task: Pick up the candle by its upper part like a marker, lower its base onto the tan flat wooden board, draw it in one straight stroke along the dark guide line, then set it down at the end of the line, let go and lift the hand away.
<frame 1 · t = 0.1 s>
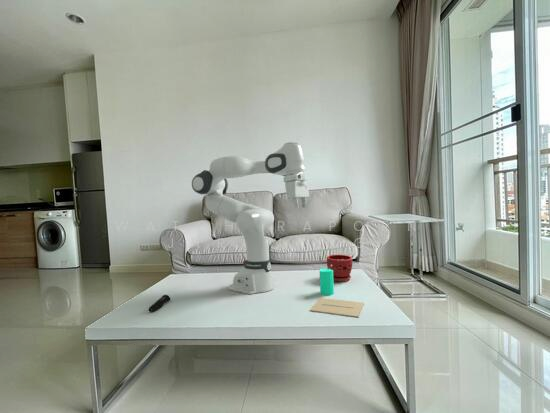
hand: (300, 208, 127), 39 cm above the table, tool pointing down, fingers open, 8 cm apart
electric trimmer: (160, 306, 120), on the table
candle: (327, 293, 127), on the table
plant pot: (340, 279, 147), on the table
tan flat wooden board: (337, 307, 110), on the table
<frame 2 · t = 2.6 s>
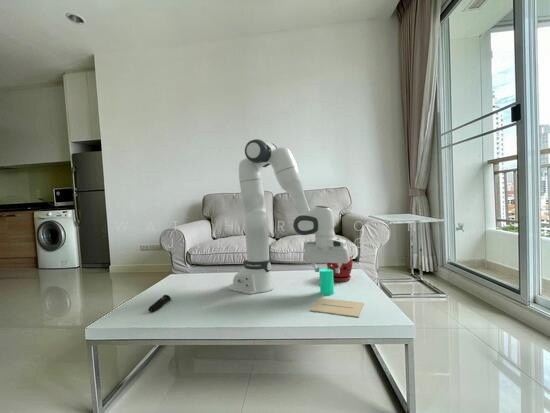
hand: (327, 272, 126), 9 cm above the table, tool pointing down, fingers open, 8 cm apart
nothing on the table moved.
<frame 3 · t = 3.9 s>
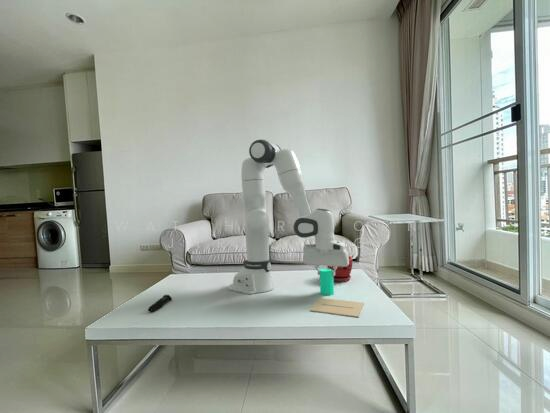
hand: (326, 275, 126), 8 cm above the table, tool pointing down, fingers closed on candle, 5 cm apart
candle: (327, 293, 127), on the table, touching gripper
everything else where it was.
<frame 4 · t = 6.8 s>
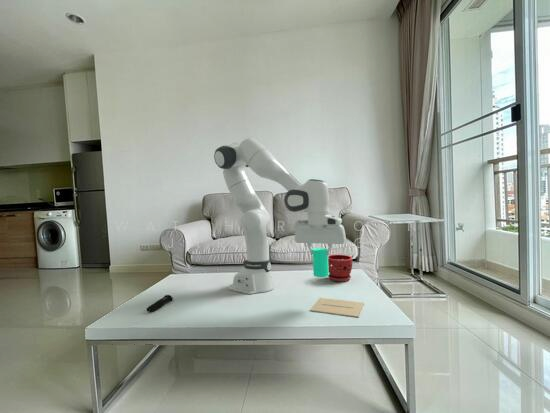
hand: (320, 254, 112), 20 cm above the table, tool pointing down, fingers closed on candle, 5 cm apart
candle: (321, 275, 112), point 12 cm above the table, touching gripper
everything else where it was.
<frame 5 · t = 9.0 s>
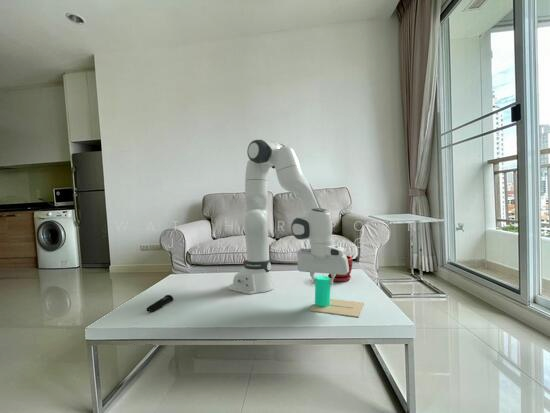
hand: (323, 283, 112), 9 cm above the table, tool pointing down, fingers closed on candle, 5 cm apart
candle: (322, 304, 112), resting on tan flat wooden board, touching gripper
everything else where it was.
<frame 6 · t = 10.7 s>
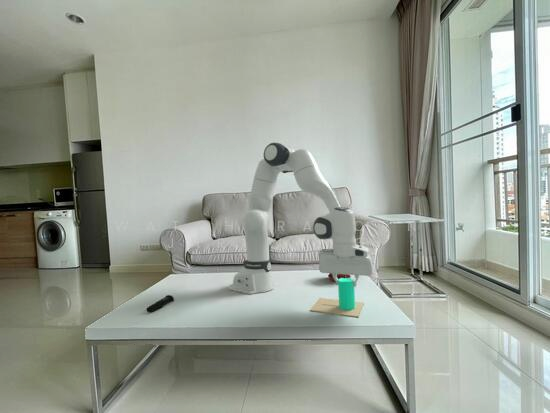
hand: (346, 285, 108), 9 cm above the table, tool pointing down, fingers closed on candle, 5 cm apart
candle: (347, 307, 108), resting on tan flat wooden board, touching gripper
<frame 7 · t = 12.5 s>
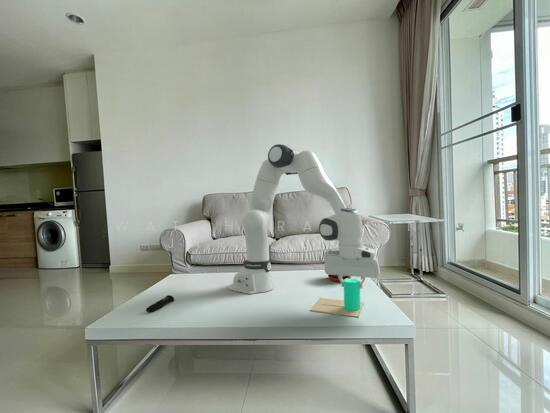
hand: (352, 287, 107), 8 cm above the table, tool pointing down, fingers closed on candle, 5 cm apart
candle: (352, 308, 107), resting on tan flat wooden board, touching gripper
everything else where it was.
when the fingers open (8 cm above the table, at t = 13.3 s): candle stays where it is, resting on tan flat wooden board.
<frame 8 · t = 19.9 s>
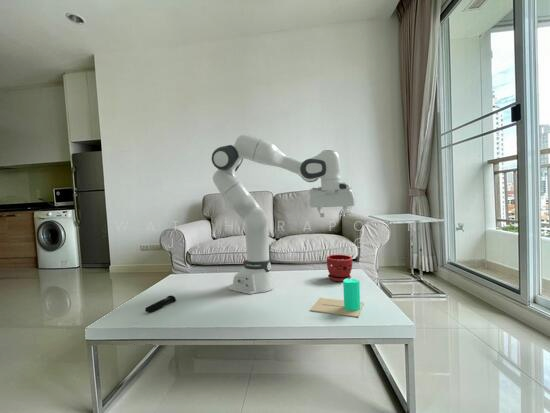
hand: (332, 216, 127), 34 cm above the table, tool pointing down, fingers open, 8 cm apart
candle: (352, 308, 107), resting on tan flat wooden board
at the end: candle inside the target area (0.3 cm from its centre), resting on tan flat wooden board; candle tilted 0°; the gripper is holding nothing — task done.
